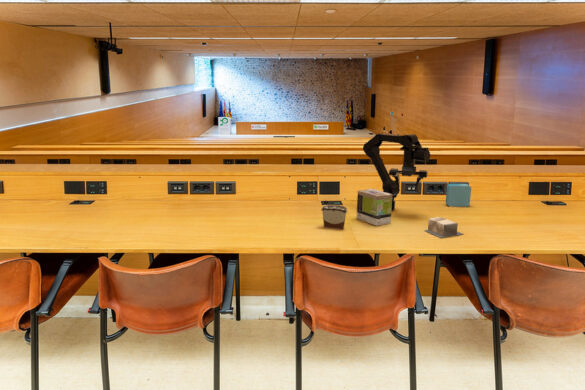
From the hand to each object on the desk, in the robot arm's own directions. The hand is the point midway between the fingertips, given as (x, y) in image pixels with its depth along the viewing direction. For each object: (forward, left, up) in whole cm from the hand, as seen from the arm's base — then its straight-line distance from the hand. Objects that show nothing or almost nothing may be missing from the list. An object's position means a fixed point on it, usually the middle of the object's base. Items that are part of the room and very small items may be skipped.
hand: (407, 189), depth 232 cm
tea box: (-13, -19, -13) cm, 27 cm away
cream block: (+15, -21, -10) cm, 28 cm away
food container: (-28, -35, -13) cm, 47 cm away
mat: (+20, -25, -13) cm, 35 cm away
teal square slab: (+25, +27, -13) cm, 39 cm away
